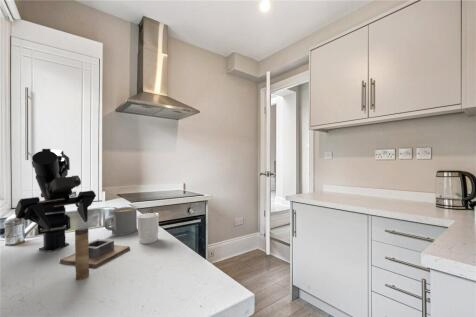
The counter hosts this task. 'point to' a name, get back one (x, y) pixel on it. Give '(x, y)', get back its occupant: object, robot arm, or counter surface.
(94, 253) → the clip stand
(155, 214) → the white cup
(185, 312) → the counter surface
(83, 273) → the wooden peg
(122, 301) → the counter surface
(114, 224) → the coffee mug
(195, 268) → the counter surface
